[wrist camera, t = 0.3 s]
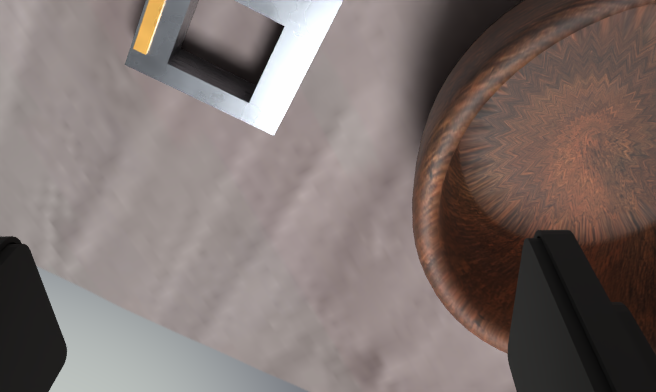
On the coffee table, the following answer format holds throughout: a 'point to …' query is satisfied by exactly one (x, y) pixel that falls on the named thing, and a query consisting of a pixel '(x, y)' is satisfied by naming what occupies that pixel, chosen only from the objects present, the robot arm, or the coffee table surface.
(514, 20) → the wooden bowl
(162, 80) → the panel
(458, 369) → the coffee table surface
